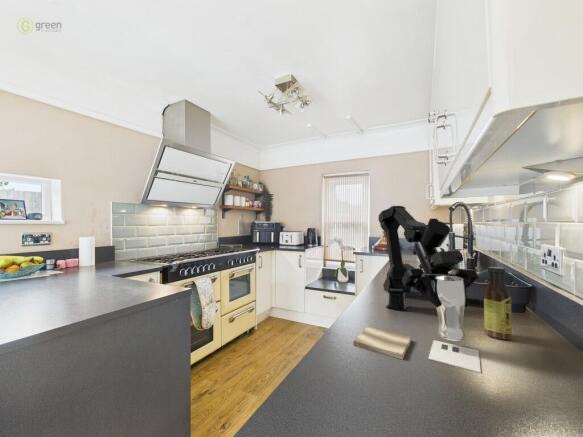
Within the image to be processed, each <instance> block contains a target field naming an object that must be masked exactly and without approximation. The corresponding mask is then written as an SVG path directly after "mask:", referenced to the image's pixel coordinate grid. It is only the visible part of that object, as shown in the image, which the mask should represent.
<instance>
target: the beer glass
mask: <svg viewBox="0 0 583 437" xmlns="http://www.w3.org/2000/svg"><path fill="white" fill-rule="evenodd" d="M433 290H434V292H435V294H436V296H437V299H438V301H439V304H440V306H439V307H436V306H435V309H436V312H437V317H438V326H437V327H438V328H437V335H438V336H439V337H440V338H442V339H445V340H448V341H454V342H461V341H464V340H465V339H466V334H465V331H464V323H463V321H464V313H465V288H464V281H463V278H461V277H457V276H449V275H439V276H435V277H434V281H433Z"/></svg>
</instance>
